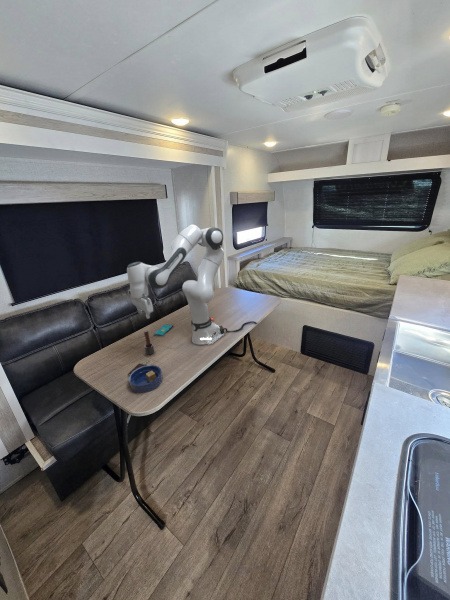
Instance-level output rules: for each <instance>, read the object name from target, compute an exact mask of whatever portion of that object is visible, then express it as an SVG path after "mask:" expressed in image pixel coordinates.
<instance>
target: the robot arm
mask: <svg viewBox="0 0 450 600" xmlns="http://www.w3.org/2000/svg"><path fill="white" fill-rule="evenodd" d="M223 242H224V233H223V231H222V229H220V228H218V227H214V226H212V227H205V228H200V227H199V226H197V224H190V225H188V226H186V227H185V228H183V229H182V230H181V231H180V232H179V233H178V234H177V235H176V236H175V237H174V238H173V239H172V241H171V243H170V248H171V254H170V256H169V257H168V259H167V260H166V261H165V262H164V264H163V265H161V266H160V267H158V266H156V265H150V264H146V263H144V262H142V261H135V262H131V263H129V264H128V265H127V268H126V274H127V280H128V283H129V289H128V290H127V293H128V294H129V297H130V302H131V304H132V305H133V306H135V308H136V311H137V312H138V314H139V315H141V314H143V312H144V314H145V316H144V317H145V319H147V320H148V319H150V318H151V313H154V305H153V302H152V300H151V298H150V297H149V293H150V292H149V287H148V285H150V286H151V287H152V288H154V289H157V290H160V289H161V290H162V289H163V288H165V287H166V286H167V285H168V284H169V282H170V279H171V277H172V275H173V274H174V273H175V271H176V270H177V269H178V268H179V266H180V265H181V264H182V263H183V262H184V260H185V259H186V257H187V256H188V254H190V252H191V251H192V250H193V249H194V248H195V247H196V245H199V246H200V247H205V254H204V255H203V258H202V260H201V262H200V264H199V266H198V268H197V274H198V276H197V280H195V279H189V280H185V281H184V282H183V284H182V288H181V290H182V292H183V294H184V295H185V298H186V301H187V304H188V307H189V310H190V317H191V318H190V319H191V321H190V323H191V324H190V325H191V329H192V332H191V333H192V334H191V342H192V343H193V344H194V345H200V346H202V345H203V346H205V345H207V346H208V345H213V344H214V343H215V342H217V341H218V340H220V339H221V338H223V337H224V336H225V332H226V333H235V332H238V331H241V330H242V329H243V327H244V326H245V325H247V324H251V323H252V324H258V322H257V321H254V320H253V321H251V320H250V321H247V322H244V323H243V324H242V325H241V327H240V328H238V329H235V330H228V328H226V327H224V326H223V325H219V324H217V323H215V318H213V317H210V314H209V307H208V305H207V304H209V303H211V302H212V301H213V300H214V297H215V292H214V281H215V277H216V275H217V273H218V270H219V268H220V266H221V264H222V261H223V260H224V259H223V257H224V254H225V250H224V249H223V245H224V243H223ZM257 352H258V353H260V349H258V351H257Z"/></svg>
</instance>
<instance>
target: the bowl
mask: <svg viewBox="0 0 450 600" xmlns="http://www.w3.org/2000/svg"><path fill="white" fill-rule="evenodd" d="M145 365H146V366H143V367H140V368H138V369H136V370H135V371H133V372H132V373H131V375H129V377H128V383H129V386H130V389H131V390H132V392H134V393H136V394H137V393H138V394H144V393H149V392H151V391H153V390H156V389H157V388H158V387H159V386H160V385H161V384H162V383H163V379H164V376H163V371H162V368H161V367H160V366H158V365H155V364H148V365H147V364H145ZM150 371H153V372H154V373H155V375H156V379H155V380H154V381H152V382H149V381H148V380H147V378H146V373H148V372H150Z"/></svg>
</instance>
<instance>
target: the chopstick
mask: <svg viewBox="0 0 450 600" xmlns="http://www.w3.org/2000/svg"><path fill="white" fill-rule="evenodd" d="M143 334H144V339H145V345H146V344H147V347H151V344H150V343H151V340H150V334H149V331H148V330H147V329H146V330H144V331H143Z"/></svg>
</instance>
